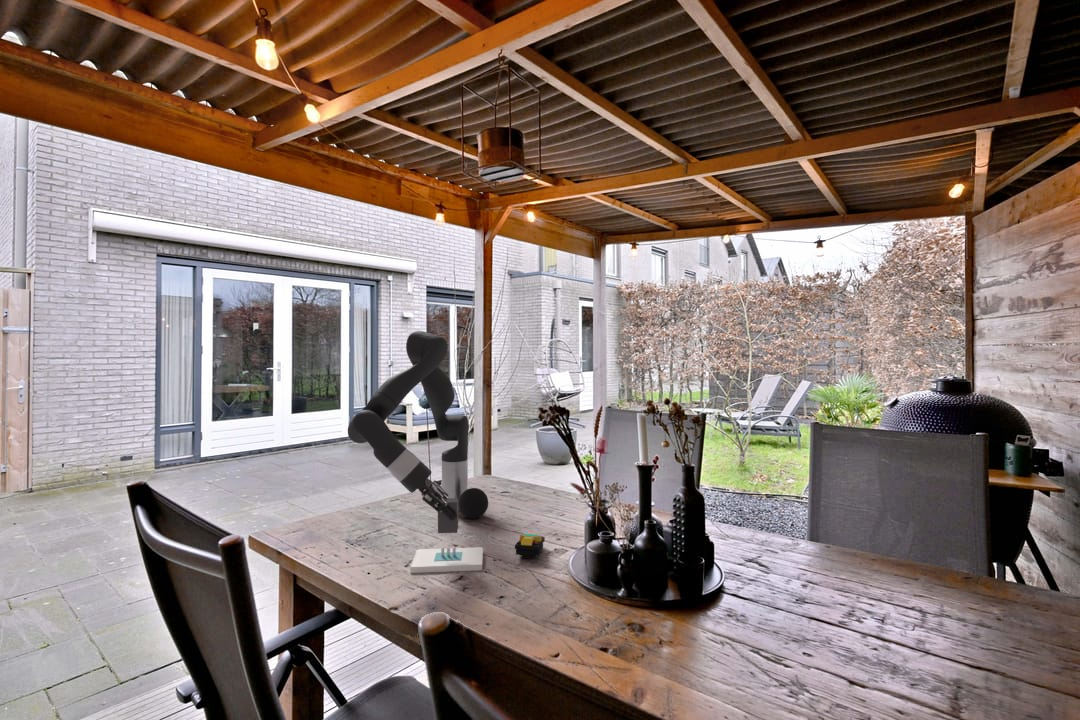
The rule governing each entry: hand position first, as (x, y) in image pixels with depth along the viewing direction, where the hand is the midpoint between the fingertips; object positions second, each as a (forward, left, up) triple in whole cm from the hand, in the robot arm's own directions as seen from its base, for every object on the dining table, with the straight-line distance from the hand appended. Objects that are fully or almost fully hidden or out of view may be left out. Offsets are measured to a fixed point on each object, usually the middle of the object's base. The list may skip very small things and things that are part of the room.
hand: (455, 515), depth 140 cm
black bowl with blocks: (+8, +19, -13) cm, 25 cm away
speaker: (-29, +24, -13) cm, 40 cm away
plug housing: (-1, -2, -4) cm, 4 cm away
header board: (-1, -1, -13) cm, 13 cm away
